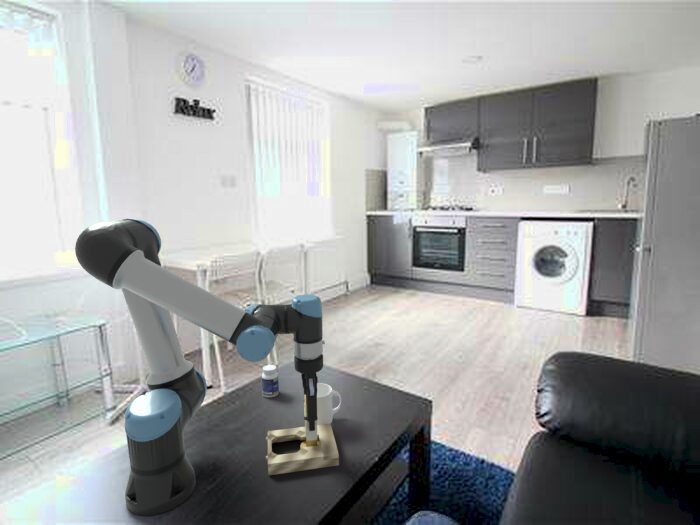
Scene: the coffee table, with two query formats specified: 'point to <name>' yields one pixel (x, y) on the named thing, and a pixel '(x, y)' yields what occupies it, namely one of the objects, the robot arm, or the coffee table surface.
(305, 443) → the headed peg
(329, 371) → the coffee table surface
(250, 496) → the coffee table surface
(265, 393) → the pill bottle
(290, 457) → the keyhole board
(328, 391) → the mug
